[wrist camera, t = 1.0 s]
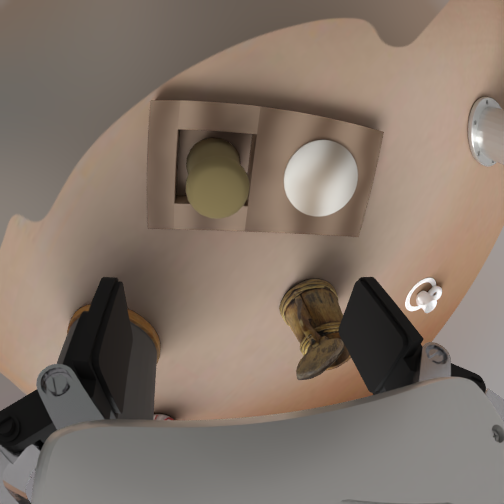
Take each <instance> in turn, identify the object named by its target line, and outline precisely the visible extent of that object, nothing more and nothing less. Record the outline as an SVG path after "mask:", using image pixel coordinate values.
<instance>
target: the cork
mask: <svg viewBox="0 0 504 504" xmlns="http://www.w3.org/2000/svg"><path fill="white" fill-rule="evenodd" d="M186 167H187V172H188V178H187V180H186V194H187V198H188V201H189V202H190V204H191V205H192V207H193V208H194V209H195V210H196V211H197V212H198V213H200V214H201V215H203V216H206V217H208V218H215V219H221V218H225V217H229V216H231V215H233V214H235V213H236V212H238V211H239V210H240V209H241V208H242V207H243V206H244V204H245V202H246V200H247V198H248V194H249V188H250V185H249V179H248V176H247V174H246V172H245V170H244V168H243V167H242V166H241V165H240V159H239V154H238V152H237V151H236V149H235V147H234V146H233V145H232V144H230V143H229V142H228V141H226V140H223V139H221V138H208V139H204V140H202V141H200V142H198V143H197V144H196V145H195V146H194V147H193V148H192V149H191V150H190V152H189V154H188V157H187V162H186Z"/></svg>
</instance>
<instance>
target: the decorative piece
mask: <svg viewBox="0 0 504 504" xmlns="http://www.w3.org/2000/svg"><path fill="white" fill-rule="evenodd" d="M90 305H91V304H89V305H86V306H84V307H82V308H80V309H79V310H78V311H76V312H75V314H74V315H73V317H72V319H71V321H70V323H69V326H68V330H67V337H66V340H65V342H64V345H63V348H62V350H61V353H60V356H59V359H58V362H57V364H63V361H64V358H65V355H66V353H67V350H68V347H69V344H70V341H71V339H72V336H73V333H74V330H75V328H76V325H77V323H78V320H79V318H80V315H81V313H82V312H83V311H89V308H90ZM127 310H128V315H129V320H130V325H131V329H132V334H133V343H132V349H131V355H130V361H129V368H128V375H127V382H126V389H125V397H124V406H123V412H122V414H121V413H118V419H135V420H153V417H154V394H155V378H156V364H157V363H158V360H159V357H160V341H159V337H158V335H157V333H156V331H155V329H154V328H153V327H152V326H151V325H150V323H149V322H147V321H146V320H145V319H144V318H143V317H141V316H140V315H138V314H137V313H135V312H133V311H131V310H129V309H127ZM35 470H36V469H35Z"/></svg>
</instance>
